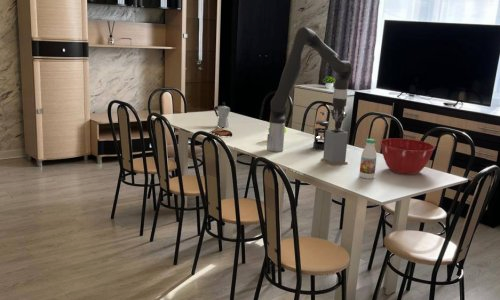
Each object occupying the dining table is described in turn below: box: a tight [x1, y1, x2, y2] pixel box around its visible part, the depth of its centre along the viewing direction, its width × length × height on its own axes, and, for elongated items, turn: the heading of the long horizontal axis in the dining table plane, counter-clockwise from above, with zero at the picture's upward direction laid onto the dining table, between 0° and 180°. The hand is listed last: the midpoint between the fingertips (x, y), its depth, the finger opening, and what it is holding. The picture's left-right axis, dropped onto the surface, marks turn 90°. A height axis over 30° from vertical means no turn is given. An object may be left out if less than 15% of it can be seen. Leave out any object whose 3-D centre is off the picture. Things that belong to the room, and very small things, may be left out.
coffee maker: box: [213, 102, 232, 128], centre depth 374 cm, size 15×9×18 cm, turn 58°
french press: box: [312, 111, 331, 151], centre depth 323 cm, size 12×9×23 cm
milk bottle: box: [358, 138, 378, 180], centre depth 263 cm, size 8×8×20 cm
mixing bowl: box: [380, 138, 436, 175], centre depth 279 cm, size 28×28×15 cm
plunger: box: [333, 127, 341, 133], centre depth 289 cm, size 7×7×14 cm
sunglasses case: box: [210, 127, 233, 137], centre depth 350 cm, size 18×7×7 cm, turn 36°
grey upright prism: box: [320, 129, 349, 166], centre depth 290 cm, size 11×11×18 cm
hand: (337, 127), depth 287 cm, fingers closed
